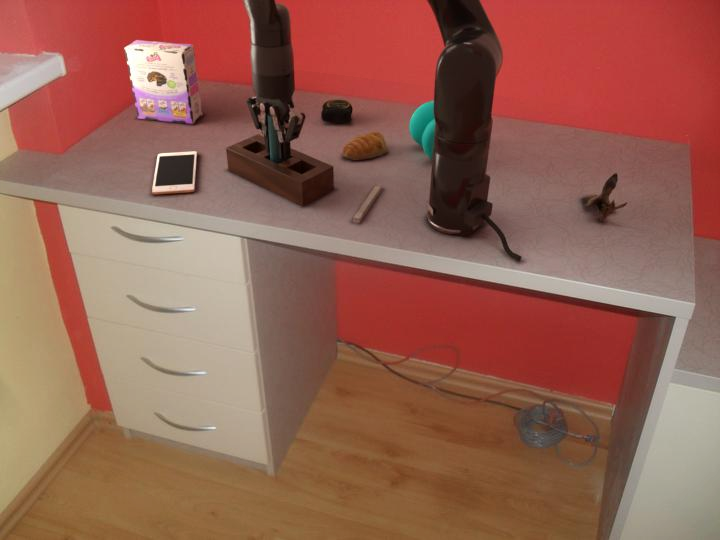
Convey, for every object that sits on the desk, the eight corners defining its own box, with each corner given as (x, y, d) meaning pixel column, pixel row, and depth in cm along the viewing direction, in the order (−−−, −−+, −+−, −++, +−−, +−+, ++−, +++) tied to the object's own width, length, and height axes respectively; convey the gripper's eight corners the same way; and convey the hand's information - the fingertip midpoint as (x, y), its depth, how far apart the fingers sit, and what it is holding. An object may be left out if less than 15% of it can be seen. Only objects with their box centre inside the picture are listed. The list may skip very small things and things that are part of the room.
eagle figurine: (635, 218, 125) (624, 185, 131) (621, 191, 120) (611, 159, 127) (592, 234, 128) (584, 201, 134) (578, 208, 124) (571, 176, 130)
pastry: (355, 166, 142) (355, 148, 140) (335, 154, 146) (334, 137, 144) (390, 153, 147) (390, 136, 145) (369, 142, 151) (370, 125, 149)
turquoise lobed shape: (449, 139, 152) (453, 95, 146) (468, 160, 145) (473, 114, 139) (406, 145, 150) (408, 101, 144) (423, 166, 142) (426, 120, 136)
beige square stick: (375, 189, 135) (375, 185, 134) (381, 190, 134) (381, 186, 134) (353, 222, 125) (353, 217, 124) (359, 223, 125) (359, 218, 124)
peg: (290, 176, 137) (287, 113, 129) (279, 181, 135) (275, 118, 127) (279, 171, 138) (275, 108, 131) (268, 176, 137) (263, 113, 129)
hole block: (259, 156, 145) (257, 133, 142) (333, 189, 134) (333, 166, 131) (228, 170, 140) (225, 147, 137) (303, 206, 129) (301, 182, 126)
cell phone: (152, 194, 132) (151, 192, 131) (158, 156, 144) (157, 153, 144) (194, 192, 133) (194, 189, 132) (197, 153, 145) (196, 151, 145)
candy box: (203, 114, 162) (194, 43, 152) (193, 125, 157) (183, 52, 147) (148, 108, 164) (136, 38, 154) (136, 118, 159) (122, 46, 150)
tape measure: (320, 125, 158) (320, 109, 155) (324, 113, 163) (324, 97, 161) (350, 127, 157) (350, 111, 155) (354, 114, 163) (354, 99, 160)
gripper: (229, 62, 125) (238, 150, 135) (285, 82, 118) (290, 174, 128) (261, 52, 130) (267, 138, 140) (316, 70, 122) (318, 159, 133)
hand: (278, 154), depth 134 cm, fingers closed on peg, 3 cm apart
